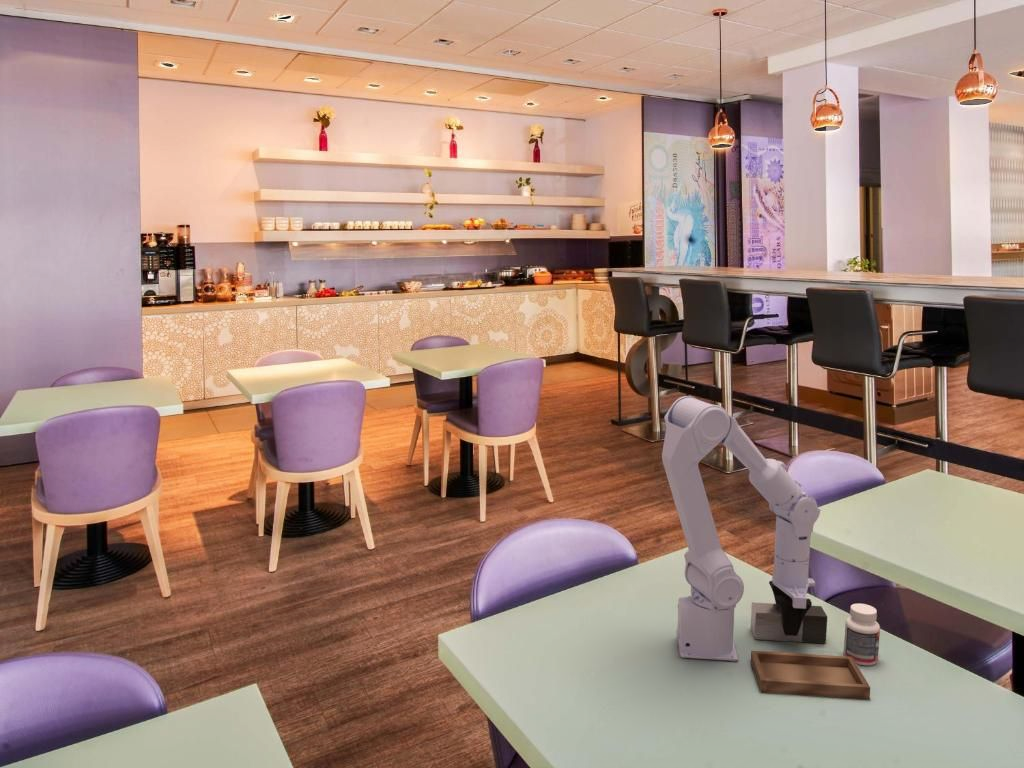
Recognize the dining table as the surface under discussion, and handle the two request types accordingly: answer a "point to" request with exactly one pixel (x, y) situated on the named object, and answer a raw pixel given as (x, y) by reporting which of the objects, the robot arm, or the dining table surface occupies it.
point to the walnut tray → (809, 675)
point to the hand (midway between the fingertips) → (787, 628)
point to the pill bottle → (862, 635)
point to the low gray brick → (771, 627)
